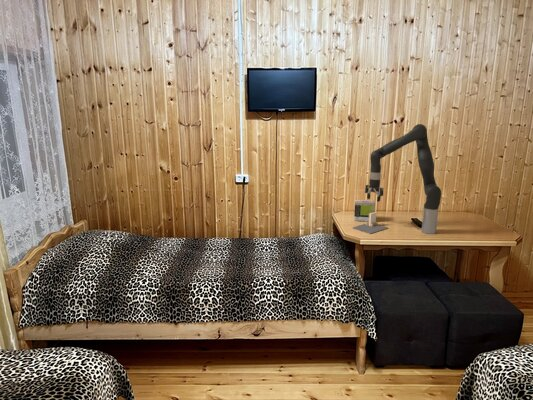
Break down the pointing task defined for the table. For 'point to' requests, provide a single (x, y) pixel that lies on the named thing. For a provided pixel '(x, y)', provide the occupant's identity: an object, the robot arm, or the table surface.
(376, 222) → the slot stand
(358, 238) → the table surface
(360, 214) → the tea box
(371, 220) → the tile
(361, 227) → the mat
